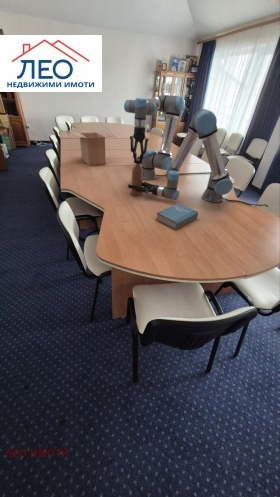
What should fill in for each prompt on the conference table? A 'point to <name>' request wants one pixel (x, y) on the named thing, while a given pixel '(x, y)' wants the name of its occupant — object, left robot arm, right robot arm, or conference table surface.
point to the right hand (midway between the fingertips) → (131, 184)
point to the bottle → (137, 179)
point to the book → (176, 215)
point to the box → (92, 146)
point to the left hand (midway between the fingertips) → (137, 163)
